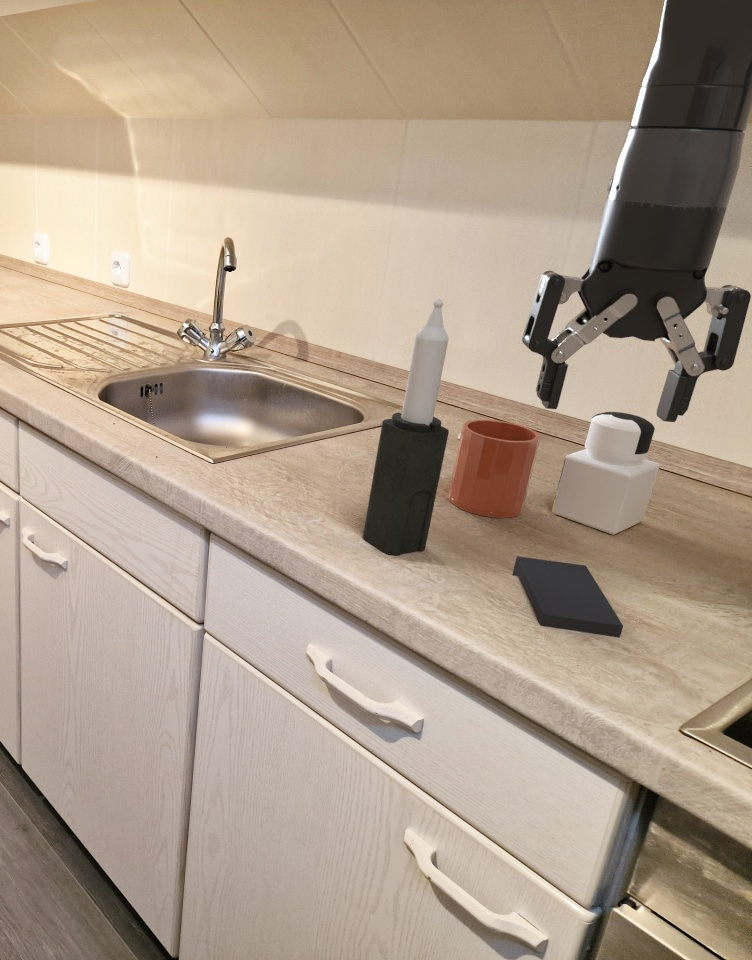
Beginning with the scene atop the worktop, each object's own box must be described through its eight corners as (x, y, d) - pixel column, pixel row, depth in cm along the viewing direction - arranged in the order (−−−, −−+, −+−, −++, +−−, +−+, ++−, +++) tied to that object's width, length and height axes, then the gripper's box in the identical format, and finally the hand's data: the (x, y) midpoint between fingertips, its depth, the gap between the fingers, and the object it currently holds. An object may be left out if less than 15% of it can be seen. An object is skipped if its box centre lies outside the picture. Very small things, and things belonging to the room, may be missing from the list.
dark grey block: (578, 593, 79) (586, 565, 78) (614, 657, 69) (623, 625, 68) (509, 584, 81) (516, 555, 79) (535, 645, 71) (543, 614, 69)
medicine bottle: (580, 500, 101) (606, 403, 97) (643, 522, 96) (674, 420, 92) (549, 513, 97) (575, 412, 93) (614, 536, 92) (644, 431, 87)
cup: (514, 495, 102) (531, 424, 98) (528, 522, 95) (547, 445, 91) (444, 487, 103) (458, 416, 100) (453, 512, 96) (469, 437, 93)
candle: (396, 529, 91) (440, 294, 82) (430, 550, 87) (480, 303, 77) (357, 535, 89) (398, 295, 80) (390, 556, 85) (437, 305, 75)
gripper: (574, 194, 59) (520, 416, 65) (804, 208, 57) (726, 438, 63) (548, 189, 66) (502, 391, 72) (752, 201, 63) (687, 410, 69)
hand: (606, 412), depth 67 cm, fingers open, 8 cm apart
